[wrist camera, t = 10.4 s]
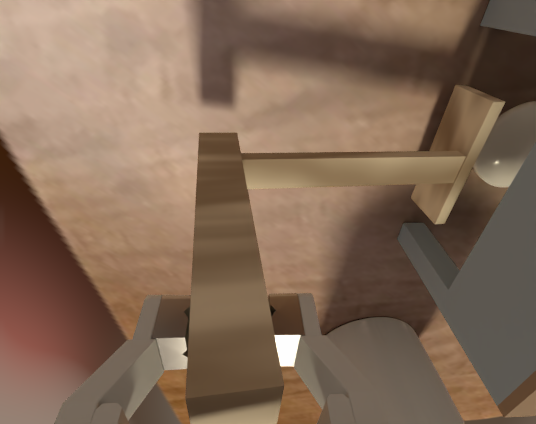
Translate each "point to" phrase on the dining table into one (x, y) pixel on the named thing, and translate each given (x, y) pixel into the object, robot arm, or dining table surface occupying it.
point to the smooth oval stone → (507, 145)
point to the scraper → (248, 258)
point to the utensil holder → (397, 370)
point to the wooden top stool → (493, 270)
